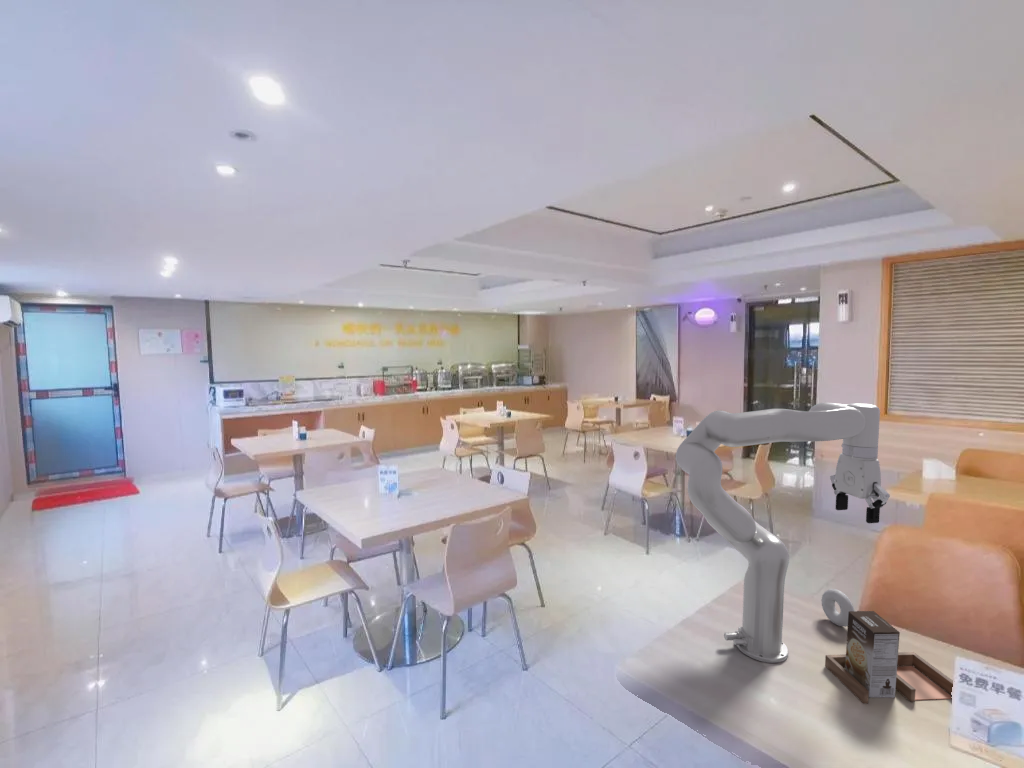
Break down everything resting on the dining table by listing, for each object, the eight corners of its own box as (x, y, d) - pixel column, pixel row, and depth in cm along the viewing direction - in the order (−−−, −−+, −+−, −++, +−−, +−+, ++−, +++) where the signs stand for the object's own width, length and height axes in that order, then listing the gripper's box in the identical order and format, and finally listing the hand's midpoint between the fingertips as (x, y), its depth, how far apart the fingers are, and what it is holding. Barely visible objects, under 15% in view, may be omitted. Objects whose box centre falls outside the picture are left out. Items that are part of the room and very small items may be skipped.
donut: (857, 633, 139) (858, 598, 139) (846, 634, 139) (848, 600, 138) (827, 614, 149) (829, 582, 148) (817, 615, 148) (819, 583, 148)
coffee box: (843, 671, 123) (846, 609, 122) (869, 672, 123) (873, 610, 122) (868, 698, 114) (872, 631, 113) (897, 698, 114) (901, 631, 113)
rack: (863, 703, 112) (864, 691, 112) (825, 666, 125) (825, 655, 125) (961, 699, 113) (962, 687, 113) (912, 663, 126) (913, 651, 126)
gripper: (821, 445, 136) (818, 506, 138) (876, 460, 119) (872, 529, 121) (845, 444, 137) (842, 504, 139) (903, 458, 120) (899, 527, 122)
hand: (856, 515), depth 130 cm, fingers open, 9 cm apart
